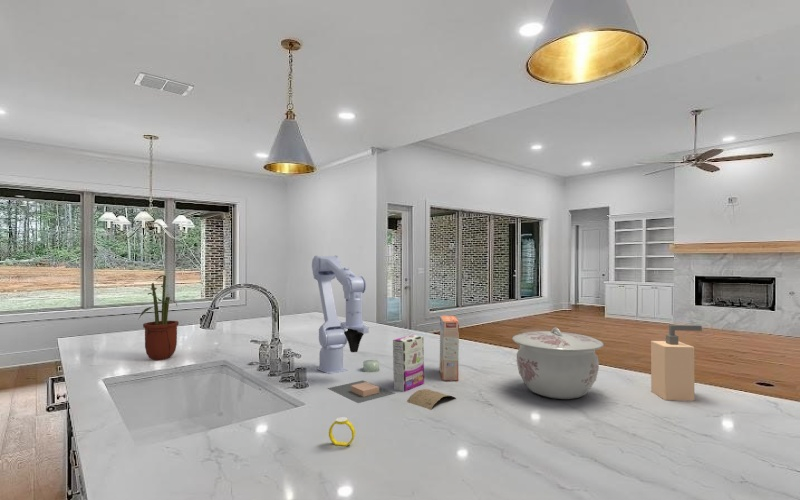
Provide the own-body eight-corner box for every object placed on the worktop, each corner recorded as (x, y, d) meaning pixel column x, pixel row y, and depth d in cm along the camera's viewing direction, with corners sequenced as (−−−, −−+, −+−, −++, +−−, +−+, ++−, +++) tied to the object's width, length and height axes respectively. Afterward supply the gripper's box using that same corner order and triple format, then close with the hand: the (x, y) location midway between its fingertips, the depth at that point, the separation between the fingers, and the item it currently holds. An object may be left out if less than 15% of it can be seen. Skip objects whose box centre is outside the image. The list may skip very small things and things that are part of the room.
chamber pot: (575, 415, 119) (574, 339, 119) (494, 390, 140) (494, 326, 141) (621, 394, 137) (620, 328, 137) (543, 375, 158) (543, 318, 158)
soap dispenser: (665, 400, 131) (664, 327, 131) (650, 391, 140) (650, 322, 140) (709, 401, 130) (709, 327, 130) (692, 392, 139) (692, 323, 139)
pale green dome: (360, 370, 164) (360, 361, 164) (372, 368, 168) (372, 359, 168) (369, 374, 160) (369, 364, 160) (382, 371, 163) (382, 362, 163)
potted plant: (185, 357, 185) (185, 274, 185) (147, 365, 172) (147, 276, 172) (162, 352, 194) (162, 273, 194) (124, 359, 181) (125, 275, 181)
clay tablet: (430, 412, 123) (430, 403, 123) (403, 404, 129) (403, 395, 129) (458, 399, 134) (458, 390, 134) (432, 392, 140) (432, 384, 140)
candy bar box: (412, 381, 150) (412, 334, 150) (424, 384, 147) (424, 335, 147) (392, 389, 141) (392, 339, 141) (404, 392, 138) (404, 341, 138)
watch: (328, 447, 100) (326, 421, 100) (332, 442, 103) (330, 416, 103) (353, 447, 99) (351, 421, 99) (356, 442, 102) (355, 416, 102)
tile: (350, 385, 138) (363, 390, 133) (366, 381, 142) (379, 387, 137) (350, 391, 138) (363, 397, 133) (366, 387, 142) (379, 393, 137)
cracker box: (459, 381, 150) (459, 320, 151) (442, 381, 151) (442, 320, 151) (455, 370, 164) (455, 315, 165) (439, 370, 165) (439, 315, 165)
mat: (327, 389, 142) (327, 388, 142) (362, 381, 151) (362, 380, 151) (358, 404, 128) (358, 403, 128) (395, 394, 137) (395, 393, 137)
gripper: (333, 310, 153) (333, 349, 153) (356, 315, 141) (356, 357, 141) (350, 309, 157) (350, 347, 157) (373, 313, 146) (373, 354, 146)
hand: (354, 351), depth 149 cm, fingers closed
